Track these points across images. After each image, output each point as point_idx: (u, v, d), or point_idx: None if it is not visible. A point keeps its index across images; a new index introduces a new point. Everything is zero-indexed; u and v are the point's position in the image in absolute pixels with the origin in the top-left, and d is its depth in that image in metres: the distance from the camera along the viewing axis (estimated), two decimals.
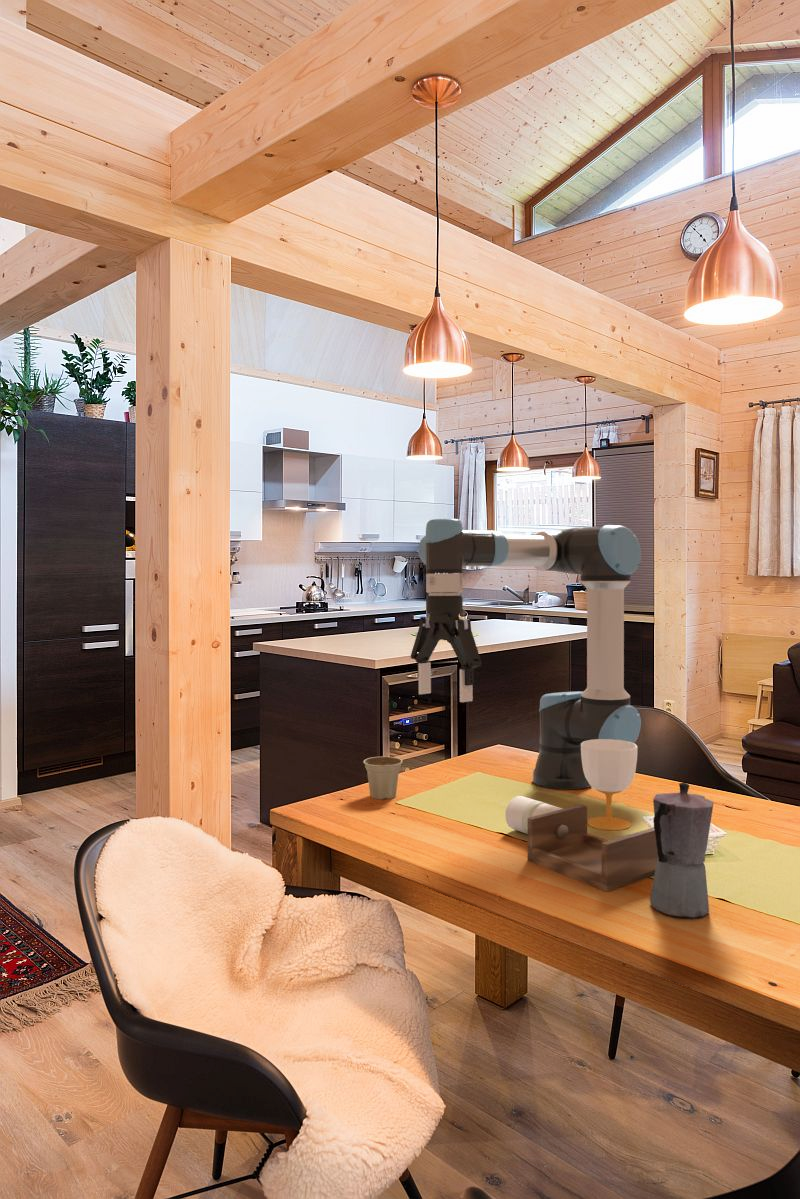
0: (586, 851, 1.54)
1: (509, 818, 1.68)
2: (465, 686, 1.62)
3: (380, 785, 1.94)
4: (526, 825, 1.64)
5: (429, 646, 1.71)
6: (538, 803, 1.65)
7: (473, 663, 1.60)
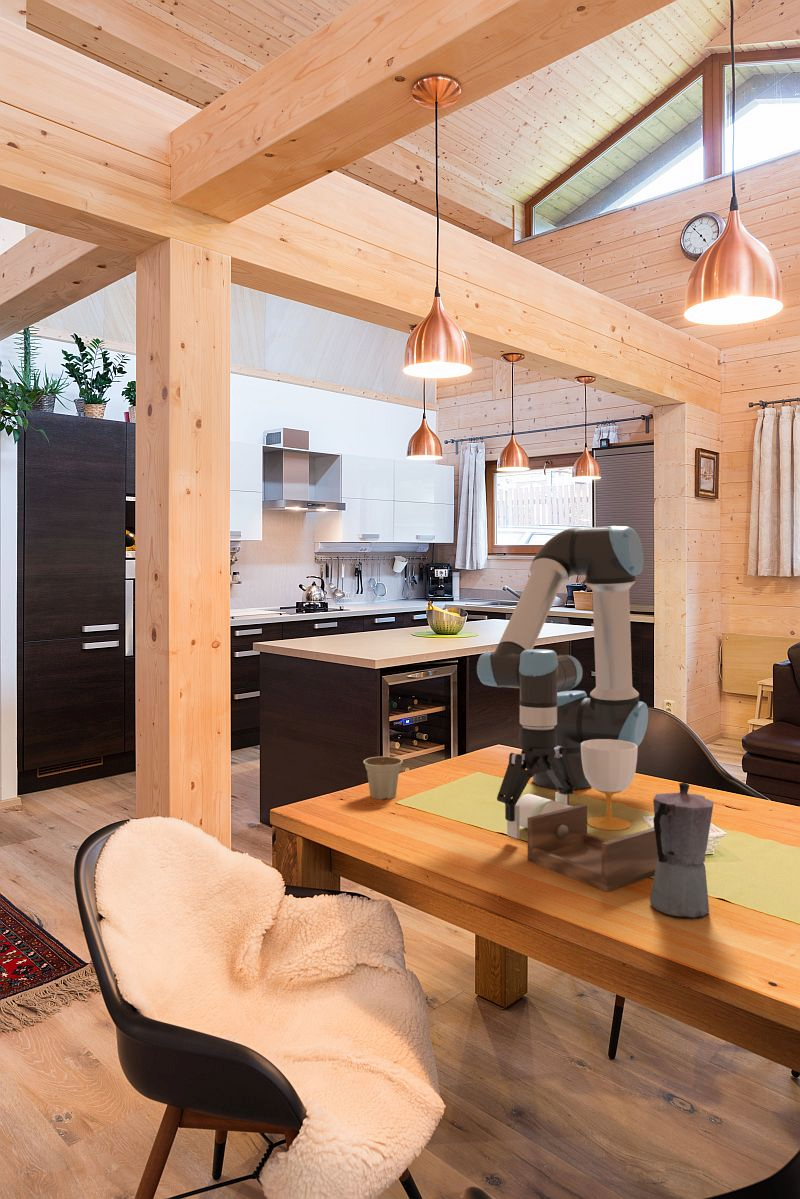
0: (586, 851, 1.54)
1: (521, 803, 1.70)
2: (510, 820, 1.62)
3: (380, 785, 1.94)
4: (538, 810, 1.65)
5: (550, 776, 1.69)
6: None
7: (498, 798, 1.60)
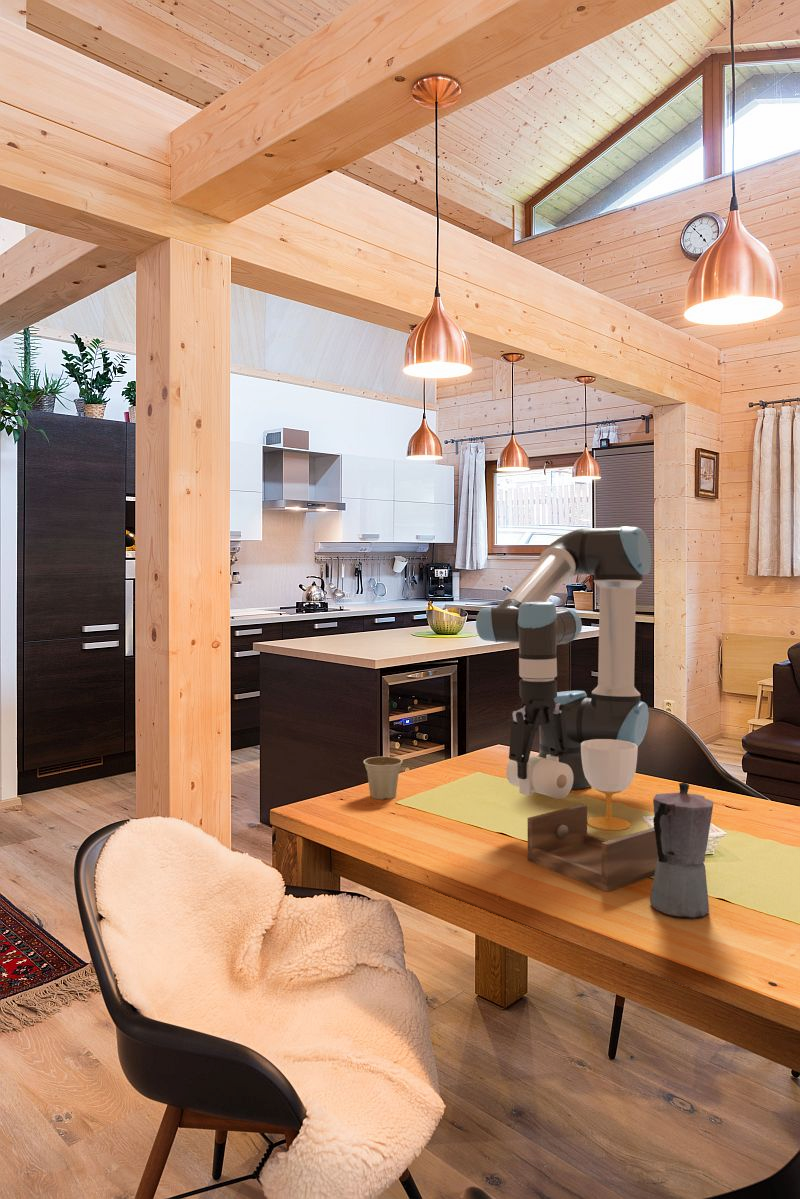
0: (586, 851, 1.54)
1: (510, 770, 1.68)
2: (522, 778, 1.64)
3: (380, 785, 1.94)
4: None
5: (545, 733, 1.68)
6: (541, 758, 1.65)
7: (510, 757, 1.62)
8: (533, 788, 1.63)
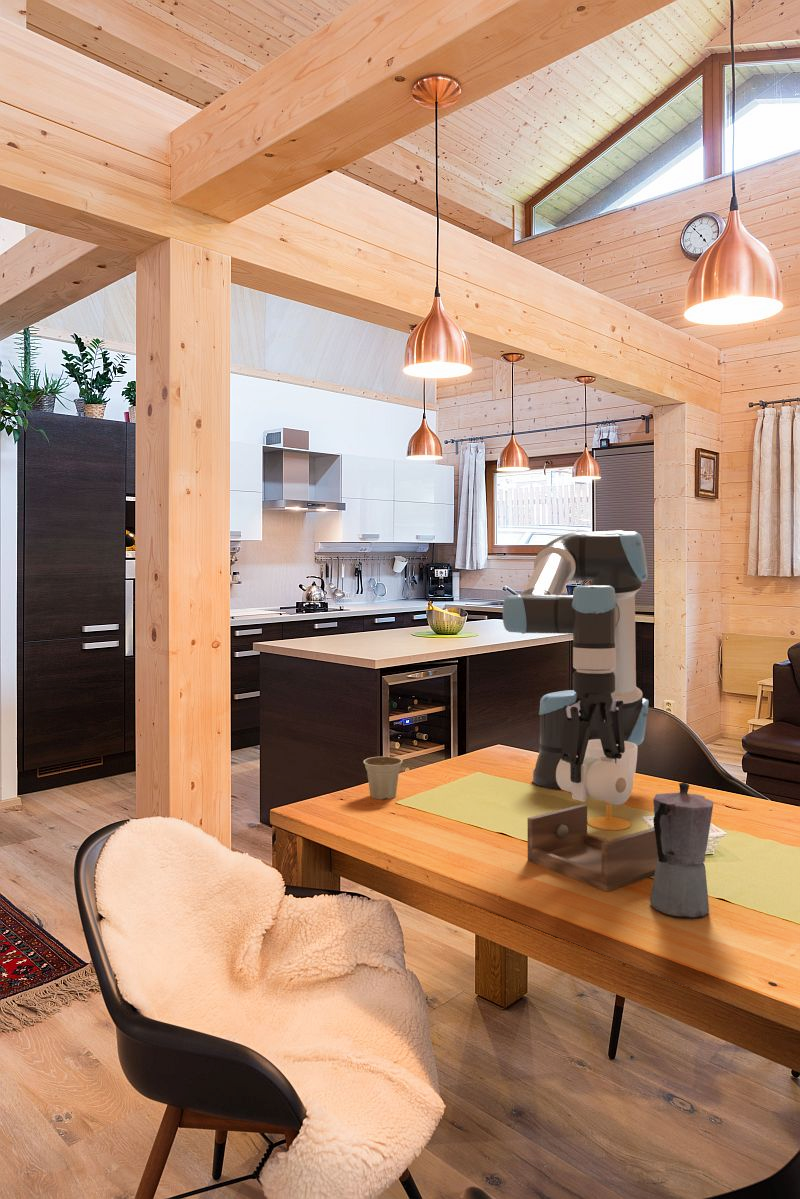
0: (586, 851, 1.54)
1: (560, 773, 1.50)
2: (575, 782, 1.46)
3: (380, 785, 1.94)
4: None
5: (600, 732, 1.50)
6: (596, 759, 1.48)
7: (562, 758, 1.45)
8: (588, 793, 1.46)
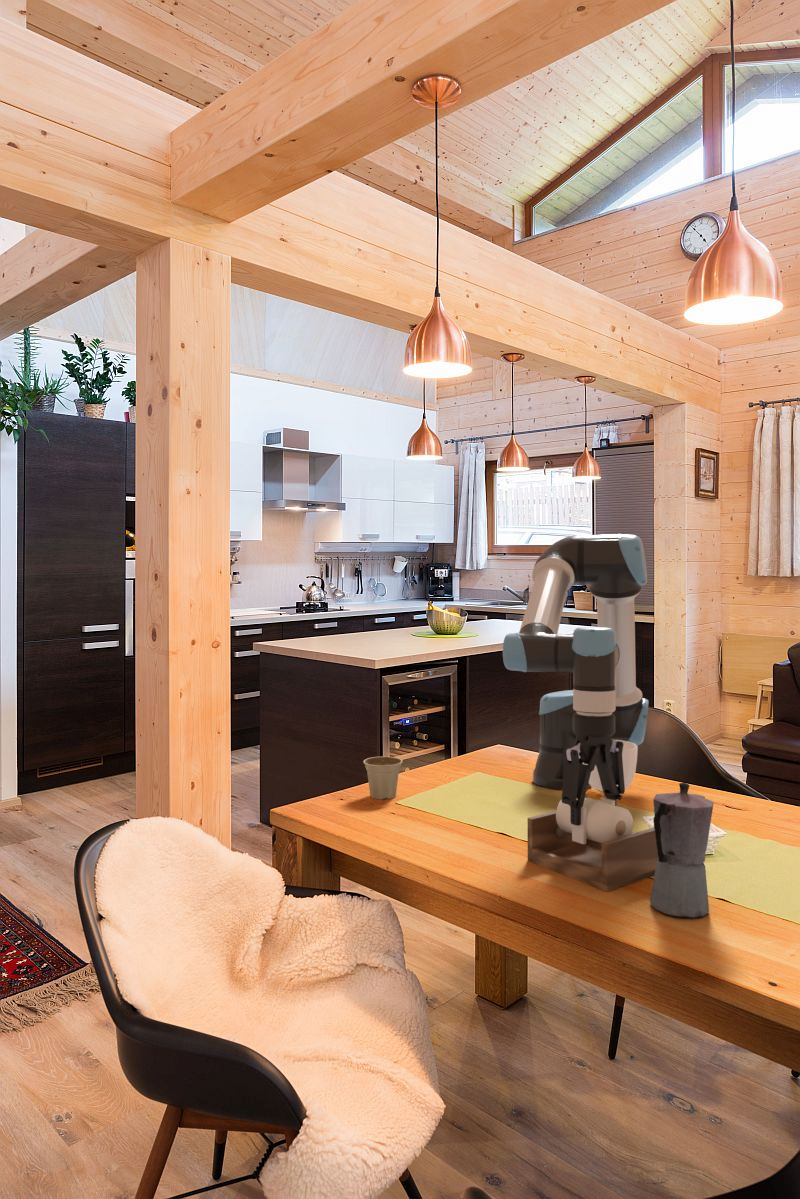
0: (586, 851, 1.54)
1: (560, 814, 1.51)
2: (575, 824, 1.47)
3: (380, 785, 1.94)
4: None
5: (600, 773, 1.51)
6: (596, 801, 1.48)
7: (562, 801, 1.45)
8: (588, 835, 1.46)
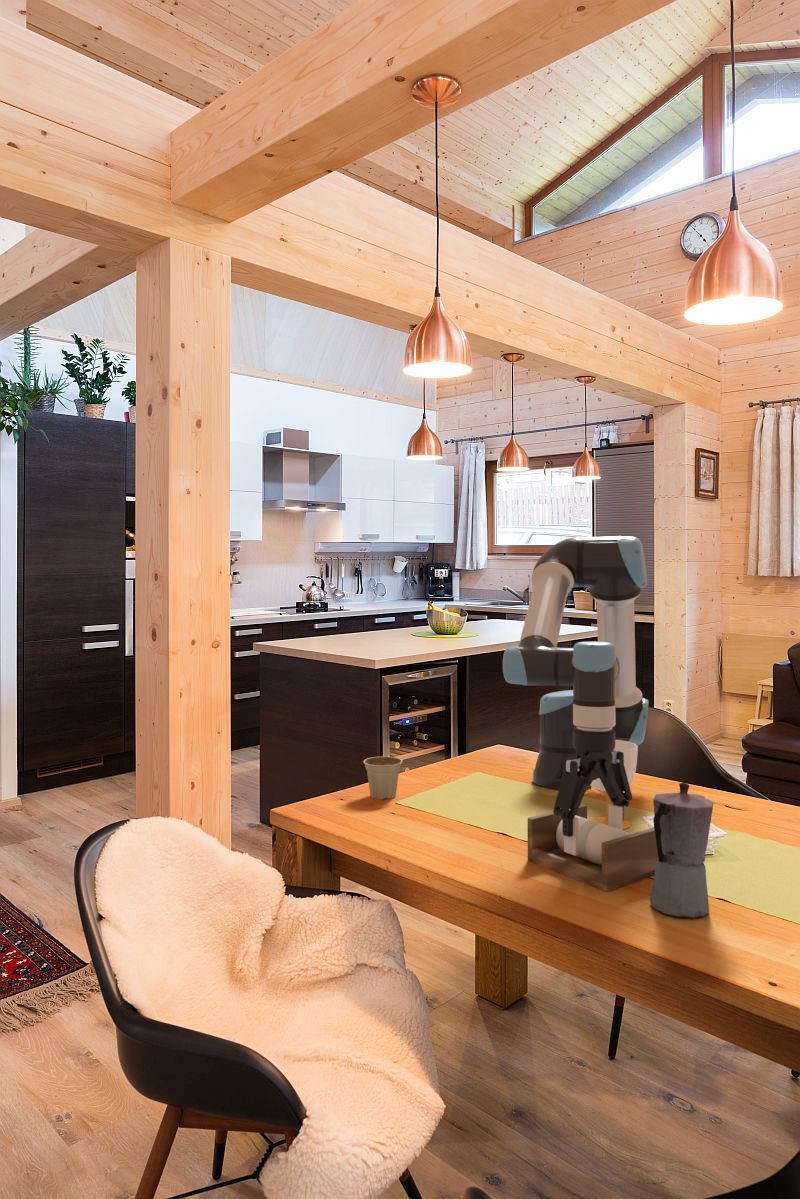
0: None
1: (560, 835, 1.51)
2: (567, 835, 1.46)
3: (380, 785, 1.94)
4: (581, 844, 1.47)
5: (604, 784, 1.51)
6: (597, 822, 1.49)
7: (554, 811, 1.44)
8: (588, 857, 1.46)
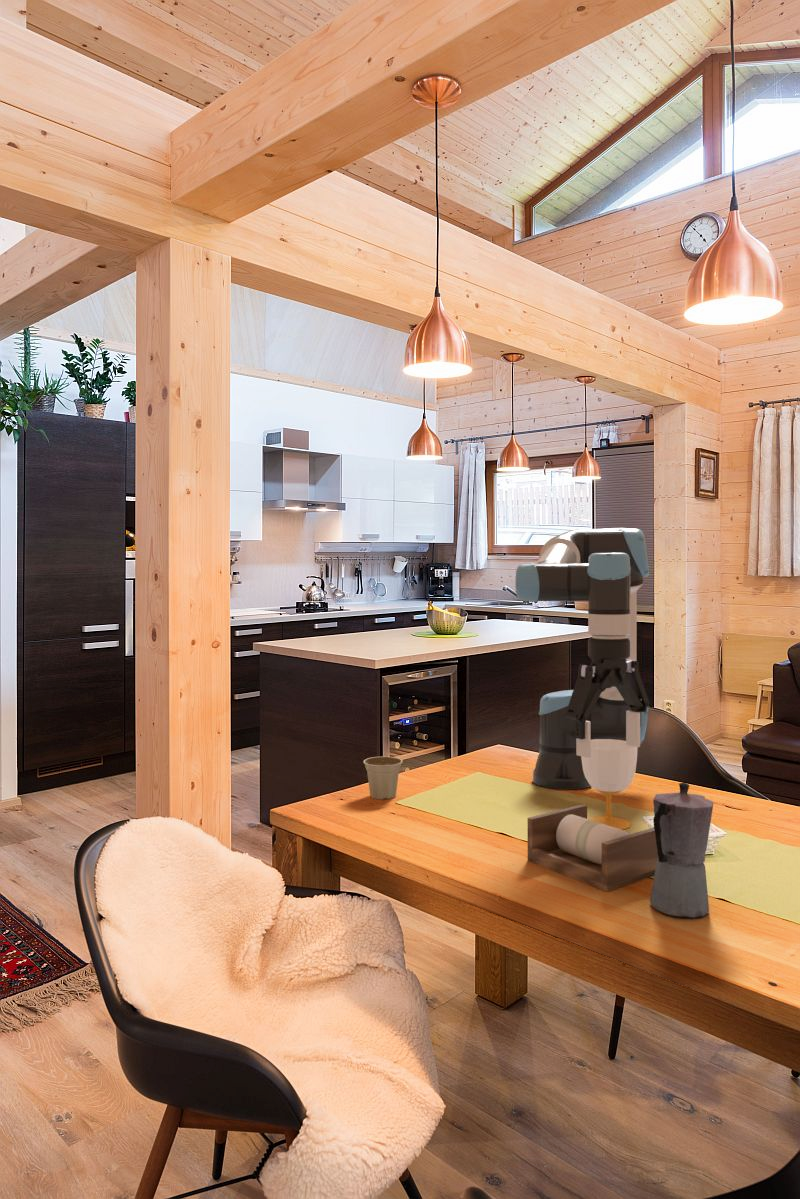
0: None
1: (560, 835, 1.51)
2: (579, 739, 1.48)
3: (380, 785, 1.94)
4: (581, 844, 1.47)
5: (621, 692, 1.54)
6: (597, 822, 1.49)
7: (566, 714, 1.46)
8: (588, 857, 1.46)
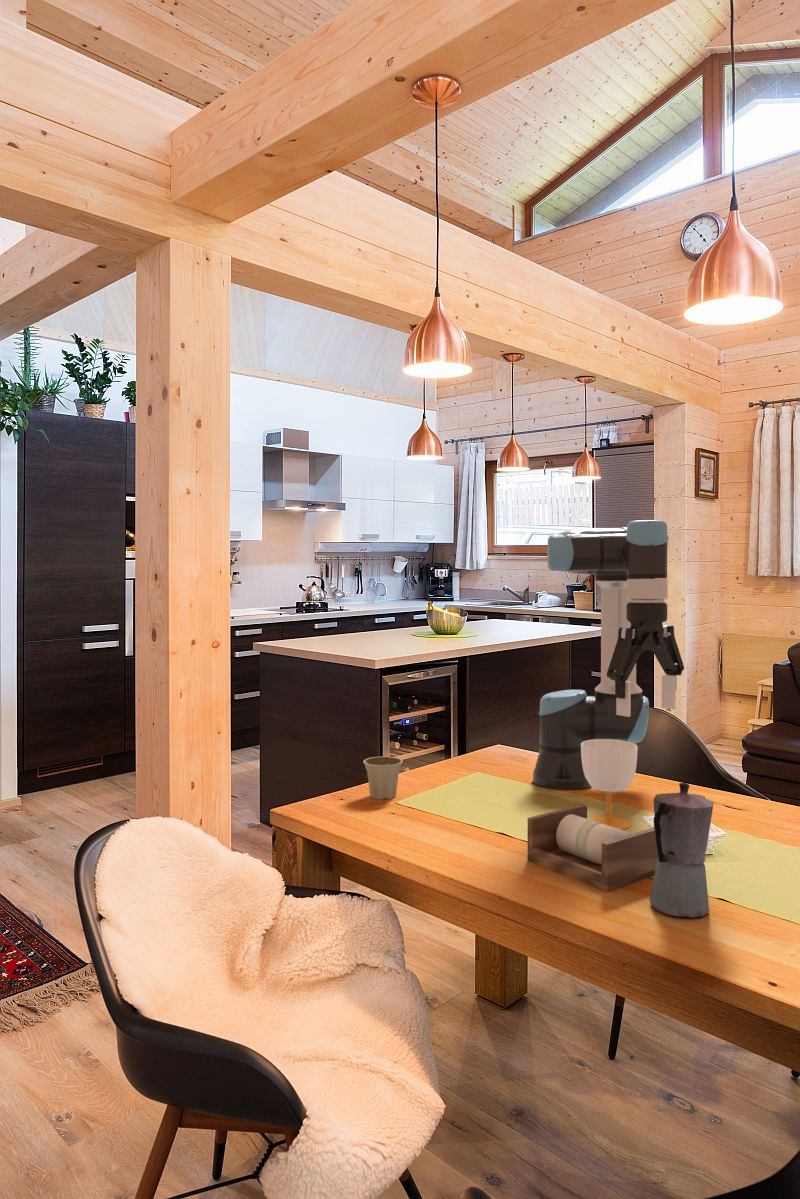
0: None
1: (560, 835, 1.51)
2: (620, 699, 1.53)
3: (380, 785, 1.94)
4: (581, 844, 1.47)
5: (657, 656, 1.60)
6: (597, 822, 1.49)
7: (608, 674, 1.52)
8: (588, 857, 1.46)
